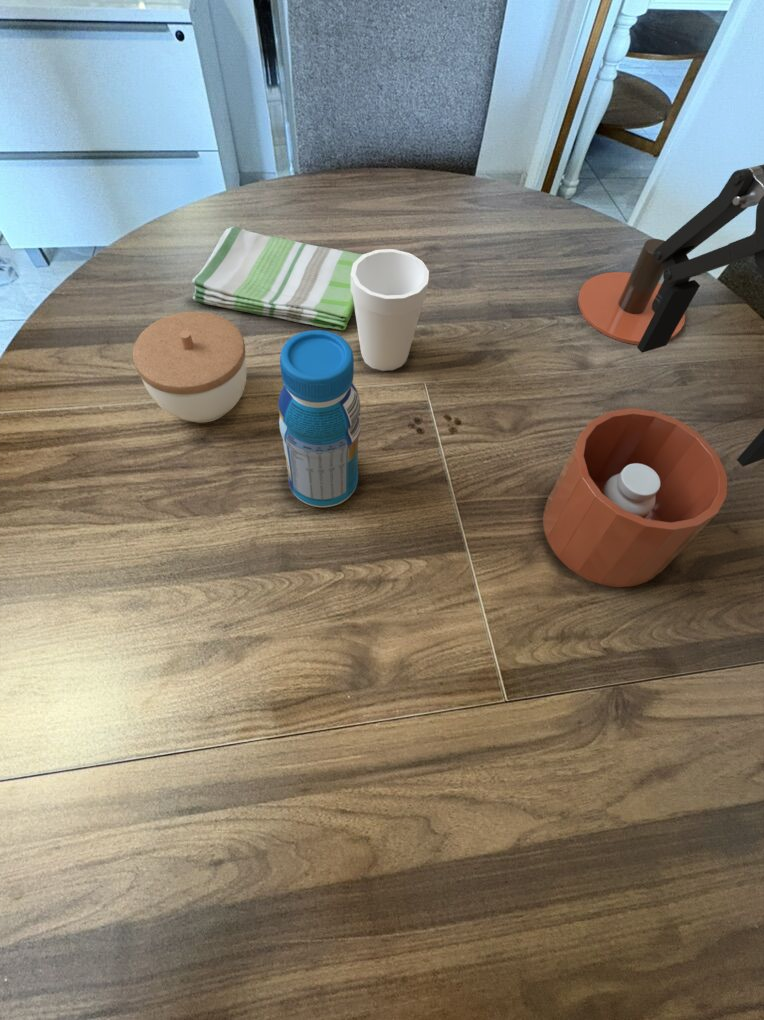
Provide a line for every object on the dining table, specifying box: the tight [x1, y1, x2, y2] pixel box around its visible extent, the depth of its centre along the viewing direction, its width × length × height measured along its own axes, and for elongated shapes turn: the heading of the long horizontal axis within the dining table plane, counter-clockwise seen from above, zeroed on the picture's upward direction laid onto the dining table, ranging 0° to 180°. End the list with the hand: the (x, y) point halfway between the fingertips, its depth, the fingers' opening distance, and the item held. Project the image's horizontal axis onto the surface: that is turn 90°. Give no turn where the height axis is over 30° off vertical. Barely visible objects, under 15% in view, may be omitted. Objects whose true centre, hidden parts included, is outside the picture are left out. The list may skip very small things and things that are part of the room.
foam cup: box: [351, 248, 430, 372], centre depth 79 cm, size 10×9×13 cm
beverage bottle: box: [277, 329, 362, 508], centre depth 64 cm, size 8×8×20 cm
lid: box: [577, 238, 686, 346], centre depth 87 cm, size 16×16×11 cm
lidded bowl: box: [132, 311, 248, 424], centre depth 74 cm, size 13×13×11 cm
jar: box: [542, 407, 728, 588], centre depth 65 cm, size 15×15×12 cm
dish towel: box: [191, 226, 363, 331], centre depth 90 cm, size 17×23×4 cm
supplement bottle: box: [601, 463, 660, 518], centre depth 66 cm, size 5×5×10 cm
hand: (698, 399), depth 52 cm, fingers open, 13 cm apart
